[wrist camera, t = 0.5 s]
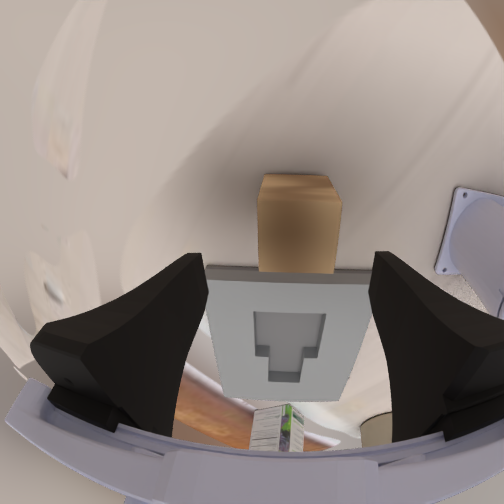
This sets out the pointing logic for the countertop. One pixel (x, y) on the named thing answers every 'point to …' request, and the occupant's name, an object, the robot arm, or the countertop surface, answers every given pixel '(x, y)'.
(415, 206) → the countertop surface
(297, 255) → the keyhole peg
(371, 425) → the travel mug
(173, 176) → the countertop surface
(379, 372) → the countertop surface
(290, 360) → the keyhole board
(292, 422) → the syrup box
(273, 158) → the countertop surface
